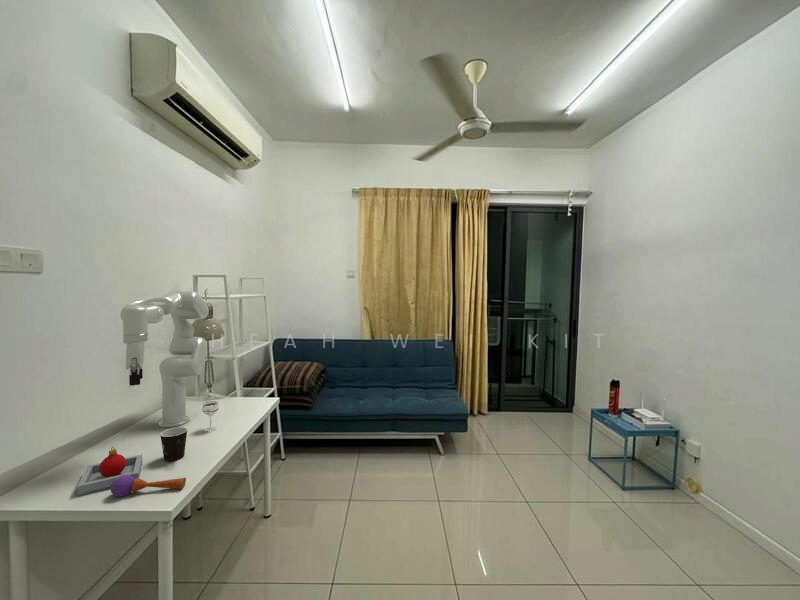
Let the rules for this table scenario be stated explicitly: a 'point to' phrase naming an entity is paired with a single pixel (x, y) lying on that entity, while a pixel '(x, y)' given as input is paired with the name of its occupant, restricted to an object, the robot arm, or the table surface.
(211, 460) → the table surface
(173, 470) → the table surface
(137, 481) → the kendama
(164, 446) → the coffee mug
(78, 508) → the table surface
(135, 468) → the tray
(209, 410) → the wineglass
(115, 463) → the christmas ornament
